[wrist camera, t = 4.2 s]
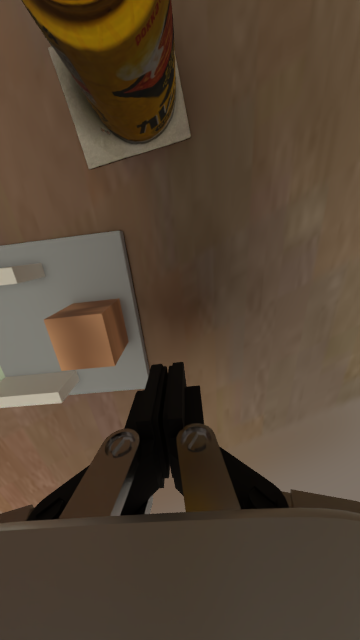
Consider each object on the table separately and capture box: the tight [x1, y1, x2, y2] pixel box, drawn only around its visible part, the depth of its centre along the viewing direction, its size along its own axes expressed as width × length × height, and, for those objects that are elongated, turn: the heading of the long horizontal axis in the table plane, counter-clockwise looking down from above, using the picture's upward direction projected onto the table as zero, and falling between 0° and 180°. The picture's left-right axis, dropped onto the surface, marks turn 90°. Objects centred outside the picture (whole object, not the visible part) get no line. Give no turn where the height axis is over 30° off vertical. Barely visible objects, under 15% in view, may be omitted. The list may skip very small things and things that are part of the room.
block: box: [44, 298, 129, 371], centre depth 19 cm, size 4×4×4 cm
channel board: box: [0, 231, 150, 408], centre depth 20 cm, size 22×16×4 cm
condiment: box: [22, 0, 191, 169], centre depth 10 cm, size 7×8×12 cm
